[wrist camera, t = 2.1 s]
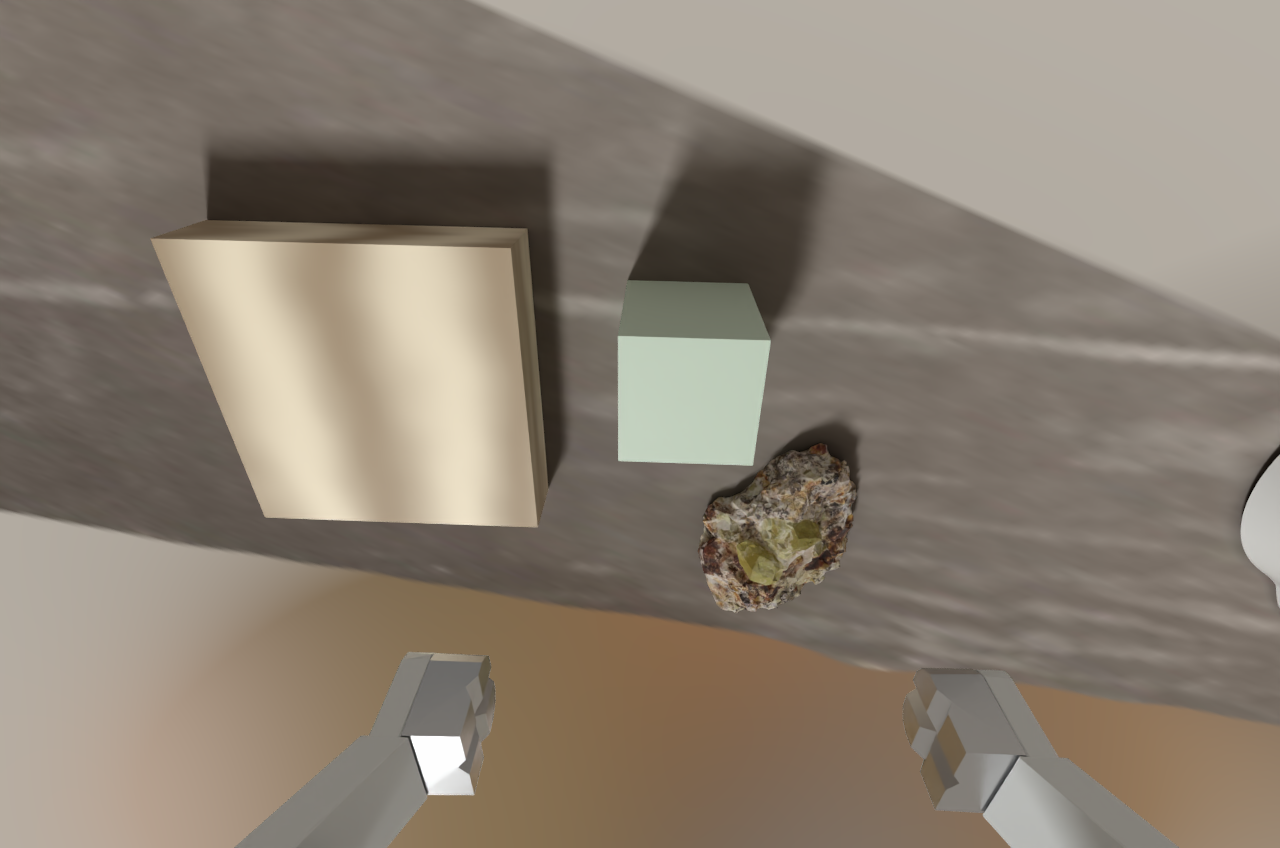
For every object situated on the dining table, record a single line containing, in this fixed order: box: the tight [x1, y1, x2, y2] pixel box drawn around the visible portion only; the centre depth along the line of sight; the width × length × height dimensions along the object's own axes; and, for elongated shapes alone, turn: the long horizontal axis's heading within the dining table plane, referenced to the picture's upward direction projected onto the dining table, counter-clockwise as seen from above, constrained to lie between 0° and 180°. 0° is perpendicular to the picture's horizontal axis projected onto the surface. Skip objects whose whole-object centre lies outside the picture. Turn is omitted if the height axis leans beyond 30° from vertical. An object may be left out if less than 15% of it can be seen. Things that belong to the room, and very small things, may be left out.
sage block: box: [618, 280, 771, 466], centre depth 23 cm, size 5×5×6 cm
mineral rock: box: [698, 443, 857, 613], centre depth 30 cm, size 11×4×8 cm
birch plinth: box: [150, 220, 548, 527], centre depth 25 cm, size 13×13×3 cm
